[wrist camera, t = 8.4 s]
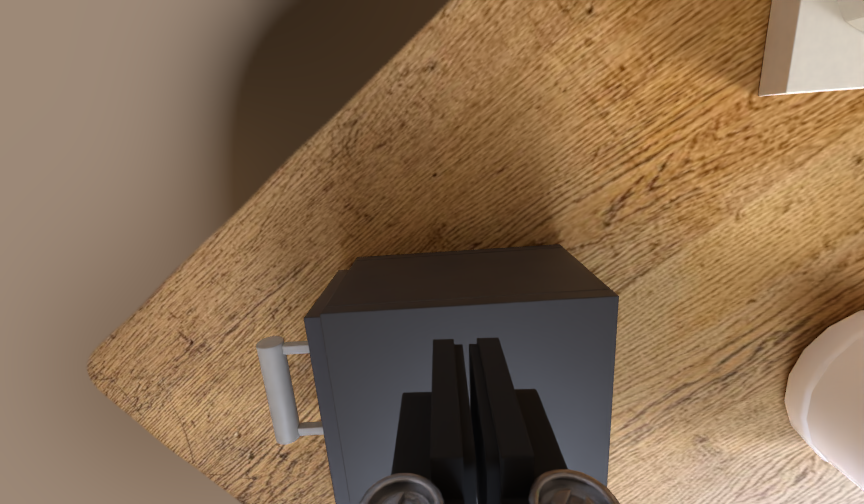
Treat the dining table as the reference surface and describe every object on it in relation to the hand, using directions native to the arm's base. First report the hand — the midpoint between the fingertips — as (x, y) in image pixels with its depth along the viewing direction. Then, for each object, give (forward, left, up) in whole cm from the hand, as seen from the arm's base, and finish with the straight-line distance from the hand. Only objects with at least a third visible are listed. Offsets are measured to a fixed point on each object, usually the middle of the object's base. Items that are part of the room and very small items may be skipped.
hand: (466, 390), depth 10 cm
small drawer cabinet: (+9, +1, -19) cm, 21 cm away
